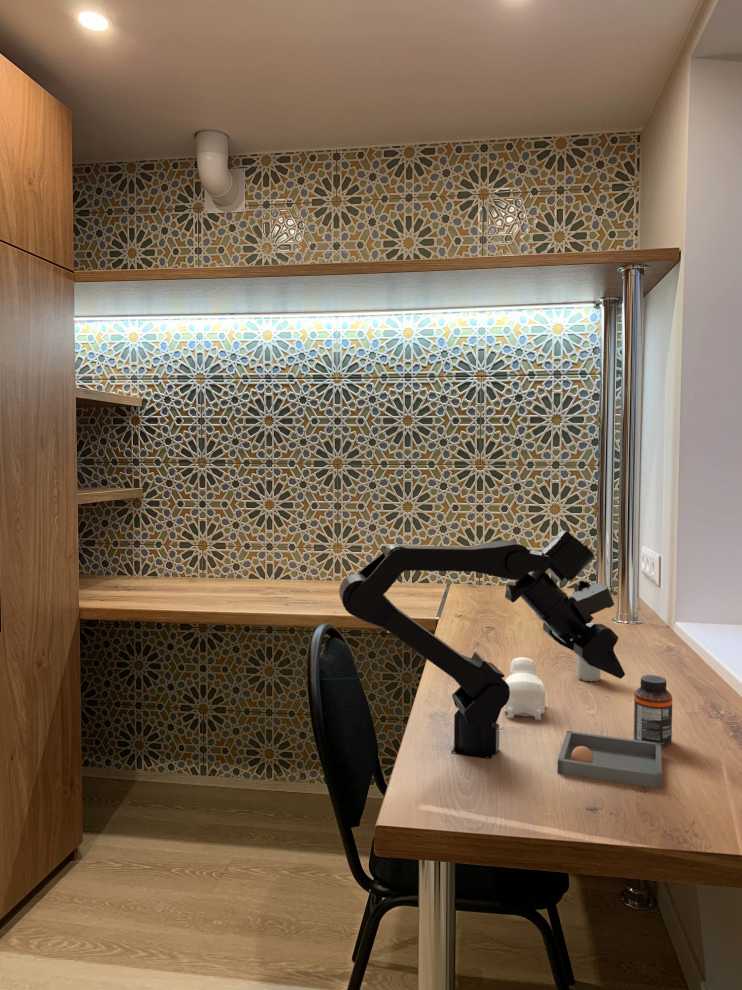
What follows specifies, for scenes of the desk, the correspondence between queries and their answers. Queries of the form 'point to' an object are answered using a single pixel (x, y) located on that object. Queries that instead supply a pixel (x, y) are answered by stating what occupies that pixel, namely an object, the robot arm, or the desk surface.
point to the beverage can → (587, 668)
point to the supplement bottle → (653, 711)
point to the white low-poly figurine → (525, 690)
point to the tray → (613, 759)
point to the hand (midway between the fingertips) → (610, 668)
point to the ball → (582, 754)
